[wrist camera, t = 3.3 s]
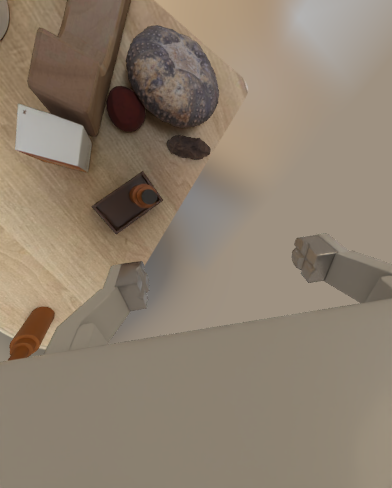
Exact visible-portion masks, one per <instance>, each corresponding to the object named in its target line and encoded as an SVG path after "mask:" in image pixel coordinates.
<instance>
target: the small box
mask: <svg viewBox="0 0 392 488" xmlns="http://www.w3.org/2000/svg"><path fill="white" fill-rule="evenodd" d="M91 148H92V142H91V140H90V138H89V137H88V134H87V132H86V131H85V129H84V126H82V125H80V124H77V123H75V122H72V121H69V120H66V119H63V118H61V117H58V116H55V115H53V114H50V113H47V112H43V111H40V110H37V109H34V108H31V107H28V106H25V105H22V104H18V113H17V129H16V145H15V150H17V151H19V152H22V153H24V154H27V155H29V156H32V157H34V158H37V159H39V160H41V161H44V162H48V163H52V164H56V165H60V166H64V167H68V168H72V169H76V170H80V171H83V172H87V173H88V169H89V162H90V155H91Z"/></svg>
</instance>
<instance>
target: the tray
mask: <svg viewBox="0 0 392 488" xmlns="http://www.w3.org/2000/svg"><path fill="white" fill-rule="evenodd" d="M140 184H148V185H150V186H152V187H153V188H154V186H153V185H152V184H151V182H150V181H149V179H148V178H147V176H146V175H145V173H144V172H143V171H142V172H141V173H139V174H138V175H137V176H135V177H134V178H132V179H131V180H129V181H128V182H126V183H125V184H123V185H122V186H121V187H119V188H118V189H116V190H115V191H113V192H112V193H110V194H109V195H107V196H106V197H105V198H103V199H102V200H100V201H99V202H97V203H96V204H94V205H93V206H92V208H93V209H94V210H95V211H96V212H97V213H98V215H99V216H100V217H101V218H102V219H103V220H104V221H105V222H106V224H107V225H108V226H109V227H110V228H111V229H112V230H113V232H114V233H115V234H118V233H119V232H120V231H122V230H123V229H124V228H126V227H127V226H129V225H130V224H131V223H133V222H134V221H135V220H137V219H138V218H140V217H141V216H142V215H144V214H145V213H146V212H148V211H149V210H151V209H152V208H153V207H155V206H156V205H157V204H159V203H160V202H162V201H163V199H162V198H161V196H160V195H159V194H158V192H157V191H156V189H155V188H154V189H155V191H156V194H157V200H156V202H155V204H154V205H153V206H151V207H149V208H141V207H139V206H138V205H136V204H135V203H133V202H132V201H131V199H130V195H129V194H130V190H131V189H132V188H133V187H134V186H136V185H140Z"/></svg>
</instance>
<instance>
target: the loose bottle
mask: <svg viewBox="0 0 392 488" xmlns="http://www.w3.org/2000/svg"><path fill="white" fill-rule="evenodd" d="M53 318H54V311H53V310H52V309H50V308H48V307H39V308H36V309H35V310H33V311H32V313H31V314H30V316H29V317H28V318H27V320H26V321H25V323H24V324H23V326H22V327H21V328H20V330H19V331H18V333H17V334H16V336H15V337H14V338H13V340H12V341H11V343H10V355H11V356H10V358H9V359H8V361H9V360H16V359H22V358H27V357H29V356H30V355H31V354H32V353H34V352H36V351H37V350H38V348H39V347H40V345H41V343H42V340H43V338H44V336H45V334H46V332H47V330H48V328H49V326H50V324H51V322H52V320H53Z"/></svg>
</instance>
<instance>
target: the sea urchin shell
mask: <svg viewBox="0 0 392 488" xmlns="http://www.w3.org/2000/svg"><path fill="white" fill-rule="evenodd" d="M126 62H127V64H126V67H127V71H128V77H129V81H130V83H131V86H132V88H133V90H134V91H135V93H136V94H137V95H138V97H139V99H140V100H141V102H142V103H143V105H144V106H145V108H147V110H148V111H150V112H151V113H152V114H154V115H155V116H156V117H157V118H159V119H160V120H162V121H164V122H167V123H170V124H172V125H173V126H176V127H180V128H183V127H195V126H197V125H200V124H202V123H204V122H205V121H207V120H208V118H210V116H211V115H212V114H213V112H214V110H215V108H216V106H217V104H218V97H219V89H218V84H217V80H216V76H215V73H214V70H213V68H212V67H211V64H210V62H209V60H208V58H207V56H206V55H205V53H204V52H203V51H202V49H201V47H200V45H199V44H198V43H197V42H196V41H193V40H192V39H191V38H190V37H188V36H186V35H183V34H179V33H177V32H176V31H174V30H173V29H168V28H164V27H162V26H158V25H156V26H150V27H147V28H146V29H144V31H143V32H141V33H140V34H138V35H137V36H136V37H135V38H134V39H133V42H132V43H131V44H130V49H129V51H128V55H127V59H126Z"/></svg>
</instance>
